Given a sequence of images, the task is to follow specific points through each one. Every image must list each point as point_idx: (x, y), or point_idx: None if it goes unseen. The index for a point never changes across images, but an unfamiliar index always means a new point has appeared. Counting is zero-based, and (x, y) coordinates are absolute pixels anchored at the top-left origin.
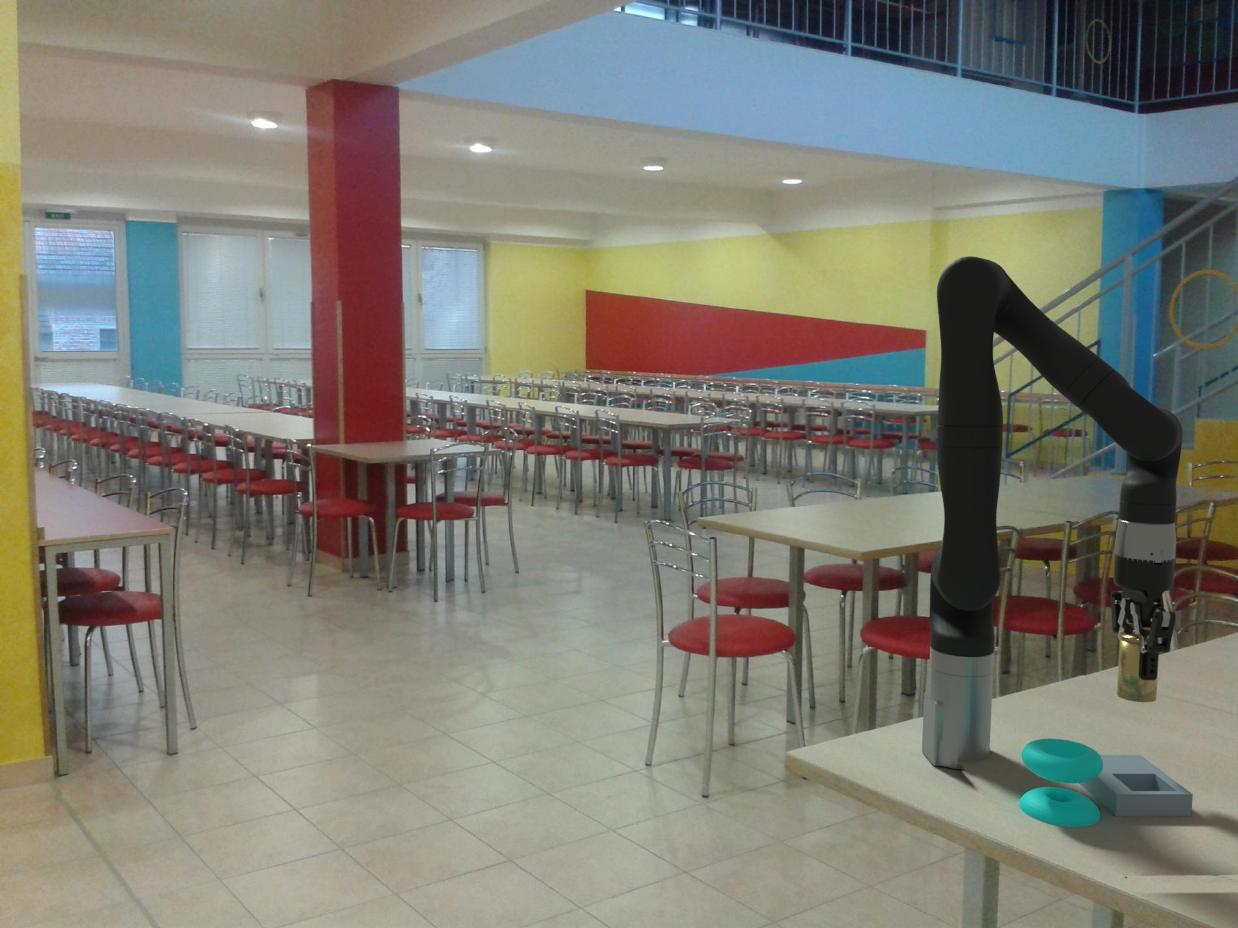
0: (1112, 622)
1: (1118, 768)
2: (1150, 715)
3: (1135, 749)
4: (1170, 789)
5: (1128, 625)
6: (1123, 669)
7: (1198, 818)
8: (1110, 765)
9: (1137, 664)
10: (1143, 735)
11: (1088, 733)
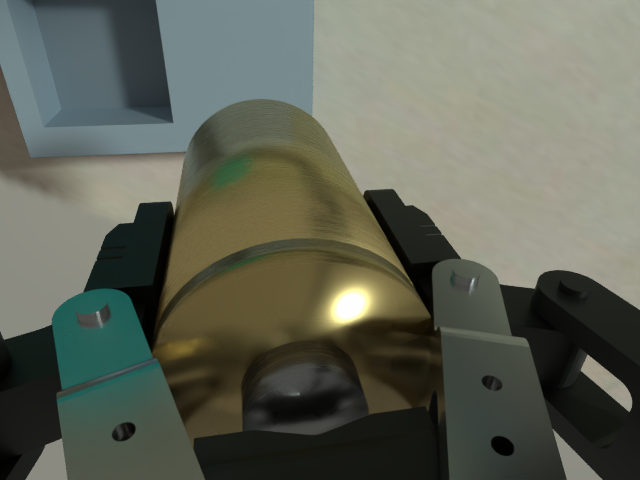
0: (634, 312)
1: (202, 33)
2: (628, 292)
3: (489, 200)
4: (85, 123)
5: (431, 382)
6: (241, 153)
7: (116, 167)
8: (226, 19)
9: (174, 228)
10: (549, 244)
11: (595, 142)
